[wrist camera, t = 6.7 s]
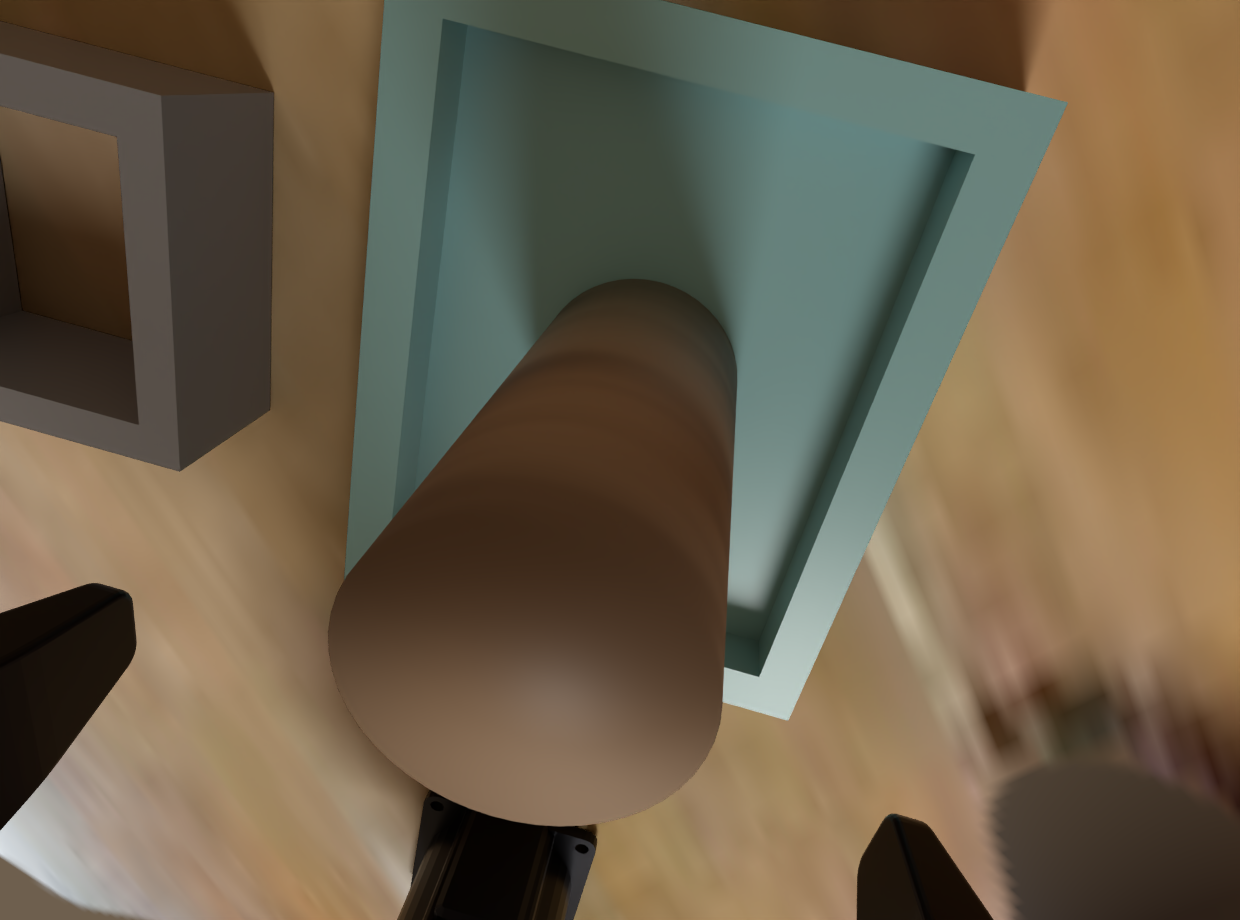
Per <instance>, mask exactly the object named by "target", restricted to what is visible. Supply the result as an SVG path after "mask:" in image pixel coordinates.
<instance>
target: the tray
mask: <svg viewBox="0 0 1240 920" xmlns="http://www.w3.org/2000/svg"><path fill="white" fill-rule="evenodd" d="M1067 104H1068V102H1064V101H1060V100H1056V99H1052V98H1048V97H1044V96H1040V95H1036V94H1032V93H1028V92H1024V91H1020V90H1016V89H1012V88H1008V87H1004V86H1000V85H996V84H992V83H988V82H984V81H980V80H976V79H972V78H968V77H964V76H960V75H956V74H952V73H949V72H945V71H941V70H937V69H933V68H929V67H925V66H921V65H917V64H913V63H909V62H905V61H901V60H897V59H893V58H889V57H885V56H881V55H877V54H873V53H869V52H865V51H861V50H857V49H853V48H849V47H845V46H841V45H837V44H833V43H829V42H826V41H822V40H818V39H814V38H810V37H806V36H802V35H798V34H794V33H790V32H786V31H782V30H778V29H774V28H770V27H766V26H762V25H758V24H754V23H750V22H746V21H742V20H738V19H734V18H730V17H726V16H722V15H718V14H714V13H710V12H706V11H703V10H699V9H695V8H691V7H687V6H683V5H679V4H675V3H671V2H667V1H663V0H384V13H383V27H382V42H381V56H380V71H379V85H378V99H377V114H376V128H375V143H374V157H373V171H372V186H371V200H370V215H369V229H368V243H367V258H366V272H365V286H364V301H363V315H362V330H361V344H360V358H359V373H358V387H357V402H356V416H355V430H354V445H353V459H352V474H351V488H350V502H349V517H348V531H347V546H346V560H345V574H344V580H345V578H346V576H347V575H348V573H349V572H350V571H351V570H352V568H353V567H354V566H355V565H356V563H357V562H358V561H359V560H360V558H361V557H362V556H363V555H364V553H365V552H366V551H367V550H368V549H369V547H370V546H371V545H372V544H373V542H374V541H375V540H376V539H377V537H378V536H379V535H380V534H381V532H382V531H383V530H384V529H385V528H386V526H387V525H388V524H389V523H390V521H391V520H392V519H393V518H394V516H395V515H396V514H397V513H398V511H399V510H400V509H401V508H402V507H403V505H404V504H405V503H406V502H407V500H408V499H409V498H410V497H411V495H412V494H413V493H414V492H415V490H416V489H417V488H418V487H419V486H420V484H421V483H422V482H423V481H424V479H425V478H426V477H427V476H428V474H429V473H430V472H431V471H432V469H433V468H434V467H435V466H436V465H437V463H438V462H439V461H440V460H441V458H442V457H443V456H444V455H445V453H446V452H447V451H448V450H449V448H450V447H451V446H452V445H453V444H454V442H455V441H456V440H457V439H458V437H459V436H460V435H461V434H462V432H463V431H464V430H465V429H466V427H467V426H468V425H469V424H470V423H471V421H472V420H473V419H474V418H475V416H476V415H477V414H478V413H479V411H480V410H481V409H482V408H483V406H484V405H485V404H486V403H487V402H488V400H489V399H490V398H491V397H492V395H493V394H494V393H495V392H496V390H497V389H498V388H499V387H500V385H501V384H502V383H503V382H504V381H505V379H506V378H507V377H508V376H509V374H510V373H511V372H512V371H513V369H514V368H515V367H516V366H517V364H518V363H519V362H520V361H521V360H522V358H523V357H524V356H525V355H526V353H527V352H528V351H529V350H530V348H531V347H532V346H533V345H534V343H535V342H536V341H537V340H538V339H539V337H540V336H541V335H542V334H543V332H544V331H545V330H546V329H547V327H548V326H549V325H550V324H551V322H552V321H553V320H554V319H555V318H556V316H557V315H558V314H559V313H560V311H561V310H562V309H563V308H564V307H565V306H566V305H567V304H568V303H569V302H570V301H571V300H573V299H574V298H576V297H577V296H579V295H580V294H581V293H583V292H585V291H587V290H589V289H591V288H593V287H595V286H598V285H601V284H603V283H606V282H611V281H616V280H623V279H645V280H652V281H657V282H661V283H664V284H667V285H670V286H673V287H675V288H678V289H680V290H682V291H684V292H686V293H687V294H689V295H690V296H692V297H693V298H695V299H696V300H698V301H699V302H700V303H701V304H703V305H704V306H705V307H706V308H707V309H708V310H709V311H710V312H711V313H712V314H713V315H714V317H715V318H716V319H717V320H718V321H719V323H720V324H721V326H722V327H723V329H724V330H725V332H726V334H727V336H728V338H729V341H730V343H731V346H732V349H733V352H734V355H735V360H736V365H737V401H736V423H735V445H734V466H733V488H732V509H731V531H730V553H729V574H728V596H727V618H726V639H725V661H724V682H723V702H725V703H728V704H732V705H735V706H739V707H742V708H746V709H749V710H753V711H756V712H760V713H763V714H767V715H770V716H774V717H777V718H781V719H784V720H789V717H790V715H791V713H792V711H793V709H794V706H795V704H796V702H797V700H798V698H799V695H800V693H801V691H802V689H803V686H804V684H805V682H806V680H807V678H808V675H809V673H810V671H811V669H812V667H813V664H814V662H815V660H816V658H817V656H818V653H819V651H820V649H821V647H822V645H823V642H824V640H825V638H826V636H827V633H828V631H829V629H830V627H831V625H832V622H833V620H834V618H835V616H836V614H837V611H838V609H839V607H840V605H841V603H842V600H843V598H844V596H845V594H846V592H847V589H848V587H849V585H850V583H851V580H852V578H853V576H854V574H855V572H856V569H857V567H858V565H859V563H860V561H861V558H862V556H863V554H864V552H865V550H866V547H867V545H868V543H869V541H870V539H871V536H872V534H873V532H874V530H875V527H876V525H877V523H878V521H879V519H880V516H881V514H882V512H883V510H884V508H885V505H886V503H887V501H888V499H889V497H890V494H891V492H892V490H893V488H894V486H895V483H896V481H897V479H898V477H899V475H900V472H901V470H902V468H903V466H904V463H905V461H906V459H907V457H908V455H909V452H910V450H911V448H912V446H913V444H914V441H915V439H916V437H917V435H918V433H919V430H920V428H921V426H922V424H923V422H924V419H925V417H926V415H927V413H928V410H929V408H930V406H931V404H932V402H933V399H934V397H935V395H936V393H937V391H938V388H939V386H940V384H941V382H942V380H943V377H944V375H945V373H946V371H947V369H948V366H949V364H950V362H951V360H952V357H953V355H954V353H955V351H956V349H957V346H958V344H959V342H960V340H961V338H962V335H963V333H964V331H965V329H966V327H967V324H968V322H969V320H970V318H971V316H972V313H973V311H974V309H975V307H976V304H977V302H978V300H979V298H980V296H981V293H982V291H983V289H984V287H985V285H986V282H987V280H988V278H989V276H990V274H991V271H992V269H993V267H994V265H995V263H996V260H997V258H998V256H999V254H1000V251H1001V249H1002V247H1003V245H1004V243H1005V240H1006V238H1007V236H1008V234H1009V232H1010V229H1011V227H1012V225H1013V223H1014V221H1015V218H1016V216H1017V214H1018V212H1019V210H1020V207H1021V205H1022V203H1023V201H1024V198H1025V196H1026V194H1027V192H1028V190H1029V187H1030V185H1031V183H1032V181H1033V179H1034V176H1035V174H1036V172H1037V170H1038V168H1039V165H1040V163H1041V161H1042V159H1043V157H1044V154H1045V152H1046V150H1047V148H1048V145H1049V143H1050V141H1051V139H1052V137H1053V134H1054V132H1055V130H1056V128H1057V126H1058V123H1059V121H1060V119H1061V117H1062V115H1063V112H1064V110H1065V108H1066V106H1067Z"/></svg>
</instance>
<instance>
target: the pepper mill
mask: <svg viewBox="0 0 1240 920" xmlns="http://www.w3.org/2000/svg"><path fill="white" fill-rule="evenodd" d="M736 401H737V365H736V360H735V355H734V352H733V349H732V346H731V343H730V341H729V338H728V336H727V334H726V332H725V330H724V329H723V327H722V326H721V324H720V323H719V321H718V320H717V319H716V318H715V317H714V315H713V314H712V313H711V312H710V311H709V310H708V309H707V308H706V307H705V306H704V305H703V304H701V303H700V302H699V301H698V300H696V299H695V298H693V297H692V296H690V295H689V294H687V293H686V292H684V291H682V290H680V289H678V288H675V287H673V286H670V285H667V284H664V283H661V282H657V281H652V280H645V279H623V280H616V281H611V282H606V283H603V284H601V285H598V286H595V287H593V288H591V289H589V290H587V291H585V292H583V293H581V294H580V295H579V296H577V297H576V298H574V299H573V300H571V301H570V302H569V303H568V304H567V305H566V306H565V307H564V308H563V309H562V310H561V311H560V313H559V314H558V315H557V316H556V318H555V319H554V320H553V321H552V322H551V324H550V325H549V326H548V327H547V329H546V330H545V331H544V332H543V334H542V335H541V336H540V337H539V339H538V340H537V341H536V342H535V343H534V345H533V346H532V347H531V348H530V350H529V351H528V352H527V353H526V355H525V356H524V357H523V358H522V360H521V361H520V362H519V363H518V364H517V366H516V367H515V368H514V369H513V371H512V372H511V373H510V374H509V376H508V377H507V378H506V379H505V381H504V382H503V383H502V384H501V385H500V387H499V388H498V389H497V390H496V392H495V393H494V394H493V395H492V397H491V398H490V399H489V400H488V402H487V403H486V404H485V405H484V406H483V408H482V409H481V410H480V411H479V413H478V414H477V415H476V416H475V418H474V419H473V420H472V421H471V423H470V424H469V425H468V426H467V427H466V429H465V430H464V431H463V432H462V434H461V435H460V436H459V437H458V439H457V440H456V441H455V442H454V444H453V445H452V446H451V447H450V448H449V450H448V451H447V452H446V453H445V455H444V456H443V457H442V458H441V460H440V461H439V462H438V463H437V465H436V466H435V467H434V468H433V469H432V471H431V472H430V473H429V474H428V476H427V477H426V478H425V479H424V481H423V482H422V483H421V484H420V486H419V487H418V488H417V489H416V490H415V492H414V493H413V494H412V495H411V497H410V498H409V499H408V500H407V502H406V503H405V504H404V505H403V507H402V508H401V509H400V510H399V511H398V513H397V514H396V515H395V516H394V518H393V519H392V520H391V521H390V523H389V524H388V525H387V526H386V528H385V529H384V530H383V531H382V532H381V534H380V535H379V536H378V537H377V539H376V540H375V541H374V542H373V544H372V545H371V546H370V547H369V549H368V550H367V551H366V552H365V553H364V555H363V556H362V557H361V558H360V560H359V561H358V562H357V563H356V565H355V566H354V567H353V568H352V570H351V571H350V572H349V573H348V575H347V576H346V578H345V580H344V582H343V584H342V585H341V587H340V589H339V591H338V593H337V596H336V599H335V602H334V605H333V608H332V611H331V616H330V623H329V630H328V643H329V656H330V661H331V667H332V672H333V675H334V678H335V681H336V684H337V687H338V690H339V692H340V694H341V696H342V698H343V700H344V702H345V704H346V706H347V708H348V710H349V712H350V713H351V715H352V716H353V718H354V719H355V721H356V722H357V724H358V726H359V727H360V728H361V730H362V731H363V732H364V733H365V735H366V736H367V737H368V738H369V739H370V741H371V742H372V743H373V744H374V745H375V746H376V747H377V748H378V749H379V750H380V751H381V752H382V753H383V754H384V755H385V756H386V757H387V758H388V759H389V760H390V761H391V762H392V763H394V764H395V765H396V766H397V767H399V768H400V769H401V770H402V771H403V772H405V773H406V774H407V775H409V776H410V777H412V778H413V779H415V780H416V781H418V782H419V783H421V784H422V785H424V786H425V787H427V788H428V789H430V790H432V791H434V792H436V793H437V794H439V795H441V796H443V797H445V798H447V799H449V800H451V801H453V802H456V803H458V804H460V805H462V806H465V807H467V808H469V809H472V810H475V811H478V812H481V813H484V814H487V815H490V816H494V817H498V818H502V819H506V820H510V821H514V822H521V823H527V824H534V825H546V826H583V825H590V824H598V823H605V822H609V821H613V820H617V819H621V818H625V817H628V816H630V815H633V814H636V813H638V812H641V811H644V810H646V809H648V808H650V807H652V806H654V805H656V804H658V803H659V802H661V801H663V800H665V799H666V798H667V797H669V796H670V795H672V794H673V793H674V792H676V791H677V790H679V789H680V788H681V787H682V786H683V785H684V784H685V783H686V782H687V781H688V780H689V779H690V778H691V777H692V776H693V775H694V774H695V773H696V771H697V770H698V769H699V767H700V766H701V765H702V763H703V762H704V761H705V759H706V757H707V755H708V753H709V752H710V750H711V748H712V746H713V744H714V742H715V738H716V735H717V732H718V728H719V725H720V720H721V712H722V703H723V682H724V661H725V639H726V618H727V596H728V574H729V553H730V531H731V509H732V488H733V466H734V445H735V423H736Z"/></svg>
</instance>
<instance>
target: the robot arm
mask: <svg viewBox="0 0 1240 920" xmlns="http://www.w3.org/2000/svg"><path fill="white" fill-rule="evenodd" d="M135 650H136V631H135V620H134V610H133V601H132V598H131V596H130V595H129V593H127V592H126V591H124V590H120V589H117V588H113V587H110V586H106V585H103V584H99V583H91V584H86V585H83V586H80V587H77V588H74V589H71V590H68V591H65V592H62V593H59V594H56V595H53V596H50V597H47V598H44V599H41V600H38V601H35V602H32V603H29V604H26V605H23V606H20V607H17V608H14V609H11V610H8V611H5V612H2V613H0V830H1V829H2V828H3V827H4V826H5V825H6V823H7V822H8V821H9V820H10V819H11V818H12V817H13V815H14V814H15V813H16V812H17V811H18V810H19V809H20V808H21V806H22V805H23V804H24V803H25V802H26V801H27V800H28V798H29V797H30V796H31V795H32V794H33V793H34V791H35V790H36V789H37V788H38V787H39V786H40V784H41V783H42V782H43V781H44V780H45V778H46V777H47V776H48V775H49V773H50V772H51V771H52V769H53V768H54V767H55V765H56V764H57V763H58V762H59V760H60V759H61V758H62V756H63V755H64V753H65V752H66V751H67V749H68V748H69V747H70V745H71V744H72V743H73V741H74V740H75V738H76V737H77V736H78V734H79V733H80V732H81V730H82V729H83V727H84V726H85V725H86V723H87V722H88V721H89V719H90V718H91V717H92V715H93V714H94V712H95V711H96V710H97V708H98V707H99V706H100V704H101V703H102V702H103V700H104V699H105V697H106V696H107V695H108V693H109V692H110V691H111V689H112V688H113V686H114V685H115V684H116V682H117V681H118V680H119V678H120V677H121V676H122V674H123V673H124V671H125V670H126V669H127V667H128V666H129V664H130V663H131V661H132V659H133V657H134V654H135ZM596 846H597V838H596V836H595V835H594V834H593V833H591V832H589V831H587V830H583V829H580V828H576V827H573V826H546V825H534V824H527V823H521V822H514V821H510V820H506V819H502V818H498V817H494V816H490V815H487V814H484V813H481V812H478V811H475V810H472V809H469V808H467V807H465V806H462V805H460V804H458V803H456V802H453V801H451V800H449V799H447V798H445V797H443V796H441V795H439V794H437V793H436V792H434V791H432V790H429V792H428V795H427V797H426V799H425V801H424V805H423V812H422V818H421V825H420V831H419V837H418V844H417V850H416V857H415V863H414V869H413V876H412V882H411V888H410V891H409V893H408V895H407V898H406V900H405V903H404V905H403V907H402V910H401V912H400V914H399V917H398V919H397V920H573V919H574V916H575V913H576V910H577V907H578V904H579V901H580V898H581V895H582V892H583V889H584V885H585V882H586V879H587V876H588V873H589V870H590V867H591V864H592V861H593V858H594V855H595V851H596ZM857 920H993V918H992V917H991V915H990V914H989V912H988V911H987V910H986V908H985V907H984V905H983V904H982V902H981V901H980V899H979V898H978V896H977V895H976V893H975V892H974V891H973V889H972V888H971V886H970V885H969V883H968V882H967V880H966V879H965V877H964V876H963V874H962V873H961V872H960V870H959V869H958V867H957V866H956V864H955V863H954V861H953V860H952V858H951V857H950V855H949V854H948V853H947V851H946V850H945V848H944V847H943V845H942V844H941V842H940V841H939V839H938V838H937V836H936V835H935V833H934V832H933V831H932V829H931V828H930V827H929V826H928V825H927V824H925V823H924V822H922V821H919V820H916V819H912V818H909V817H905V816H902V815H898V814H890V815H888V816H886V817H885V819H884V820H883V821H882V823H881V825H880V826H879V828H878V830H877V832H876V833H875V835H874V837H873V838H872V840H871V842H870V843H869V845H868V847H867V849H866V850H865V852H864V854H863V856H862V858H861V861H860V864H859V868H858V875H857Z"/></svg>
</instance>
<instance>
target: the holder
mask: <svg viewBox="0 0 1240 920" xmlns="http://www.w3.org/2000/svg"><path fill="white" fill-rule="evenodd" d="M0 106H3V107H7V108H10V109H14V110H18V111H22V112H25V113H29V114H33V115H37V116H41V117H44V118H48V119H52V120H56V121H59V122H63V123H67V124H71V125H74V126H78V127H82V128H86V129H89V130H93V131H97V132H101V133H104V134H108V135H112V136H116V137H117V144H118V157H119V171H120V184H121V197H122V210H123V223H124V236H125V249H126V262H127V275H128V288H129V301H130V314H131V327H132V340H133V341H131V340H127V339H123V338H120V337H116V336H113V335H109V334H105V333H102V332H98V331H94V330H91V329H87V328H84V327H80V326H76V325H73V324H69V323H65V322H62V321H58V320H55V319H51V318H47V317H44V316H40V315H36V314H33V313H29V312H26V311H22V307H21V301H20V294H19V287H18V280H17V273H16V266H15V259H14V252H13V245H12V238H11V231H10V224H9V217H8V211H7V204H6V197H5V190H4V183H3V176H2V169H1V162H0V421H2V422H6V423H9V424H13V425H16V426H20V427H23V428H27V429H30V430H34V431H38V432H41V433H45V434H48V435H52V436H55V437H59V438H62V439H66V440H70V441H73V442H77V443H80V444H84V445H87V446H91V447H94V448H98V449H101V450H105V451H109V452H112V453H116V454H119V455H123V456H126V457H130V458H133V459H137V460H141V461H144V462H148V463H151V464H155V465H158V466H162V467H165V468H169V469H172V470H176V471H181V470H183V469H184V468H186V467H187V466H189V465H190V464H192V463H193V462H195V461H196V460H198V459H199V458H201V457H202V456H203V455H205V454H206V453H208V452H209V451H211V450H212V449H214V448H215V447H217V446H218V445H220V444H221V443H222V442H224V441H225V440H227V439H228V438H230V437H231V436H233V435H234V434H236V433H237V432H239V431H240V430H241V429H243V428H244V427H246V426H247V425H249V424H250V423H252V422H253V421H255V420H256V419H258V418H259V417H261V416H262V415H263V414H265V413H266V412H268V411H269V410H270V362H271V278H272V194H273V110H274V93H273V92H270V91H266V90H262V89H258V88H254V87H250V86H247V85H243V84H239V83H235V82H231V81H228V80H224V79H220V78H216V77H212V76H208V75H205V74H201V73H197V72H193V71H189V70H185V69H182V68H178V67H174V66H170V65H166V64H163V63H159V62H155V61H151V60H147V59H143V58H140V57H136V56H132V55H128V54H124V53H120V52H117V51H113V50H109V49H105V48H101V47H98V46H94V45H90V44H86V43H82V42H78V41H75V40H71V39H67V38H63V37H59V36H55V35H52V34H48V33H44V32H40V31H36V30H32V29H29V28H25V27H21V26H17V25H13V24H10V23H6V22H2V21H0Z"/></svg>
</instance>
